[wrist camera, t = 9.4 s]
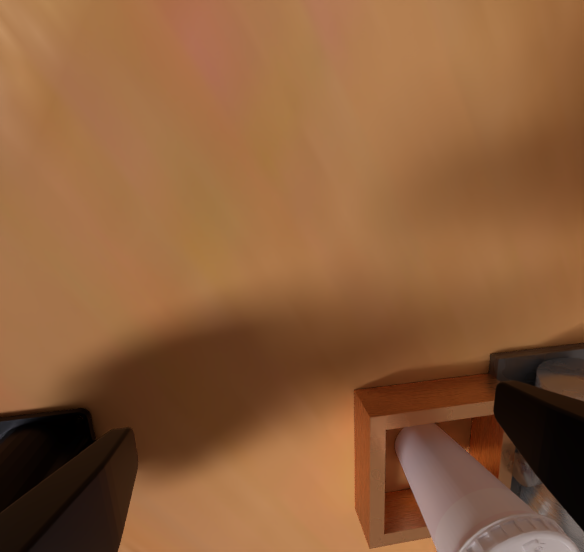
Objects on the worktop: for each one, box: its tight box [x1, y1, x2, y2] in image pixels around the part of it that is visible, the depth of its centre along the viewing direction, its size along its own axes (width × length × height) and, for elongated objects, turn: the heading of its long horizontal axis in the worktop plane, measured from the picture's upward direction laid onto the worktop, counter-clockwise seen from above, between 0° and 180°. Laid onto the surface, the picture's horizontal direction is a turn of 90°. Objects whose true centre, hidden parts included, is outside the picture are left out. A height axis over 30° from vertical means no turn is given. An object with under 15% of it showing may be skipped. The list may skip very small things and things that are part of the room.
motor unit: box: [354, 343, 584, 552], centre depth 22 cm, size 19×13×8 cm
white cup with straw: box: [395, 423, 580, 552], centre depth 18 cm, size 6×6×14 cm
